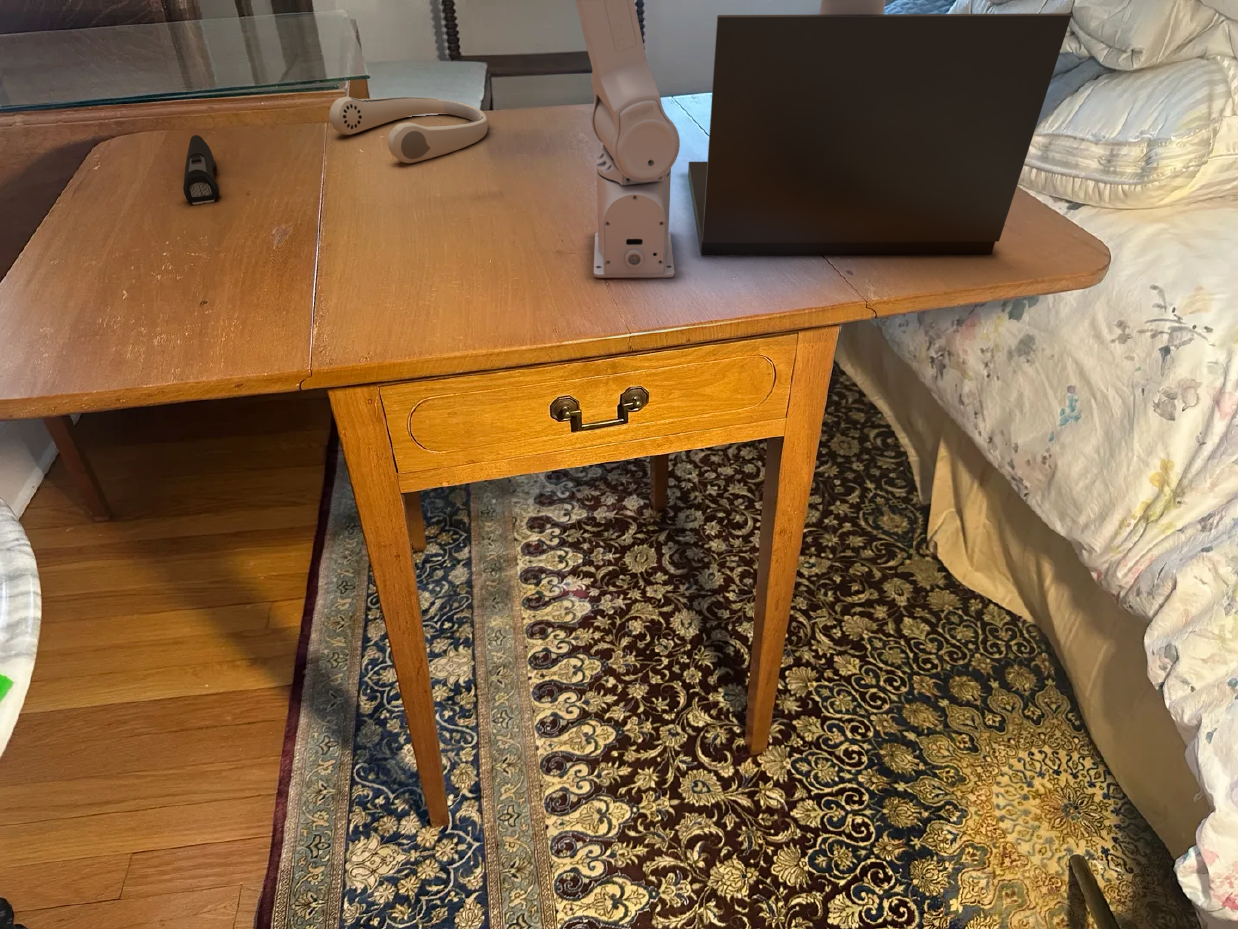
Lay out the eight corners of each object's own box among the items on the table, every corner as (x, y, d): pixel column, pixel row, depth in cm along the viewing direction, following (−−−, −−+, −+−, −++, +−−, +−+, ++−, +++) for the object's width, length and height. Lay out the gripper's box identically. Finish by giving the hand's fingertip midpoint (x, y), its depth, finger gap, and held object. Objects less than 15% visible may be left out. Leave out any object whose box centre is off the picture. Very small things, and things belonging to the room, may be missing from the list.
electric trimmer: (219, 156, 111) (211, 131, 109) (221, 200, 100) (213, 173, 98) (188, 160, 110) (179, 135, 108) (186, 205, 99) (177, 178, 97)
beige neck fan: (439, 104, 125) (434, 68, 122) (512, 134, 116) (509, 96, 113) (329, 136, 116) (321, 98, 112) (400, 171, 107) (393, 131, 103)
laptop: (687, 175, 105) (688, 160, 104) (934, 174, 105) (937, 159, 104) (701, 255, 89) (702, 238, 88) (991, 254, 89) (996, 237, 88)
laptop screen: (717, 14, 73) (718, 16, 73) (1068, 12, 74) (1072, 15, 73) (702, 239, 88) (702, 243, 87) (996, 237, 88) (999, 241, 87)
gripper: (914, 18, 83) (887, 158, 92) (764, 19, 83) (751, 158, 92) (935, 38, 78) (904, 184, 87) (775, 39, 78) (760, 185, 87)
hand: (826, 173), depth 89 cm, fingers closed
